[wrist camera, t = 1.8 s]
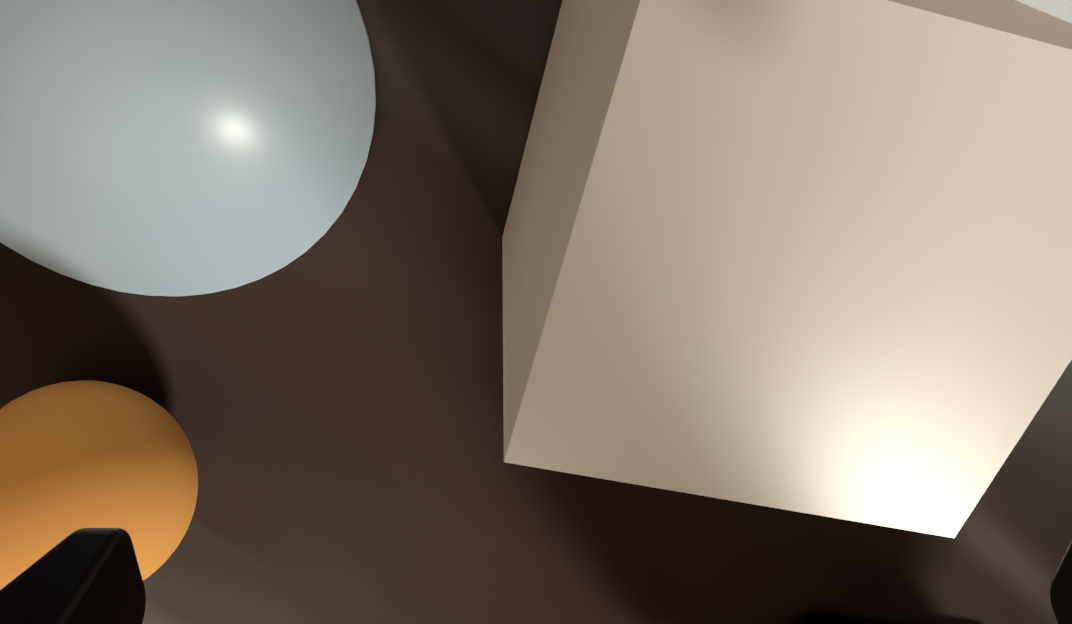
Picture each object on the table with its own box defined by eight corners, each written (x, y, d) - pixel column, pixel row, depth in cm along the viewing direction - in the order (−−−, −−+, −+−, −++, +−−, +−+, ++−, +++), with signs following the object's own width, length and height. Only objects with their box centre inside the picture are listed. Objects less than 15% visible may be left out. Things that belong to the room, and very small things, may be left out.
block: (961, -23, 18) (1244, 96, 11) (811, 301, 21) (954, 538, 15) (593, -124, 17) (658, -62, 10) (502, 237, 20) (503, 461, 14)
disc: (414, -124, 16) (414, -123, 16) (341, 328, 21) (340, 332, 21) (-178, -282, 15) (-186, -283, 15) (-112, 243, 20) (-117, 247, 20)
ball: (229, 360, 22) (163, 502, 17) (215, 511, 24) (154, 668, 20) (11, 320, 21) (-116, 460, 17) (19, 481, 23) (-89, 638, 19)
